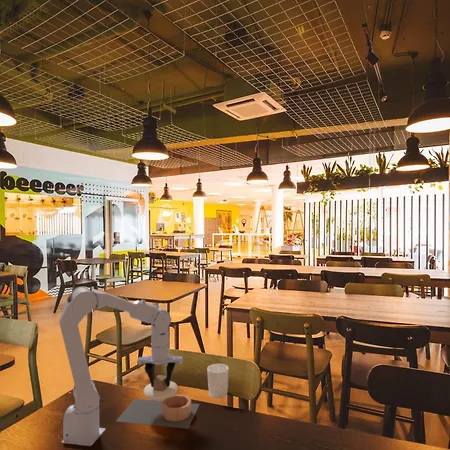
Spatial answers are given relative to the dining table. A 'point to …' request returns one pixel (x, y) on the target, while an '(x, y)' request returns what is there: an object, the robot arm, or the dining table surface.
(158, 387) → the lid
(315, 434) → the dining table surface
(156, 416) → the mat
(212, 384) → the white cup
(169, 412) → the bowl
